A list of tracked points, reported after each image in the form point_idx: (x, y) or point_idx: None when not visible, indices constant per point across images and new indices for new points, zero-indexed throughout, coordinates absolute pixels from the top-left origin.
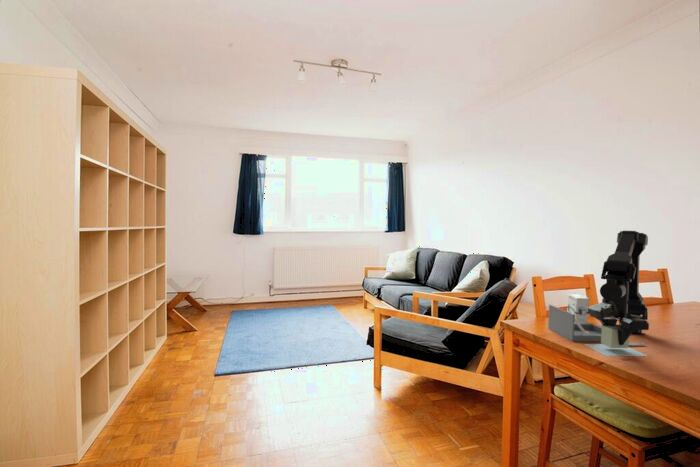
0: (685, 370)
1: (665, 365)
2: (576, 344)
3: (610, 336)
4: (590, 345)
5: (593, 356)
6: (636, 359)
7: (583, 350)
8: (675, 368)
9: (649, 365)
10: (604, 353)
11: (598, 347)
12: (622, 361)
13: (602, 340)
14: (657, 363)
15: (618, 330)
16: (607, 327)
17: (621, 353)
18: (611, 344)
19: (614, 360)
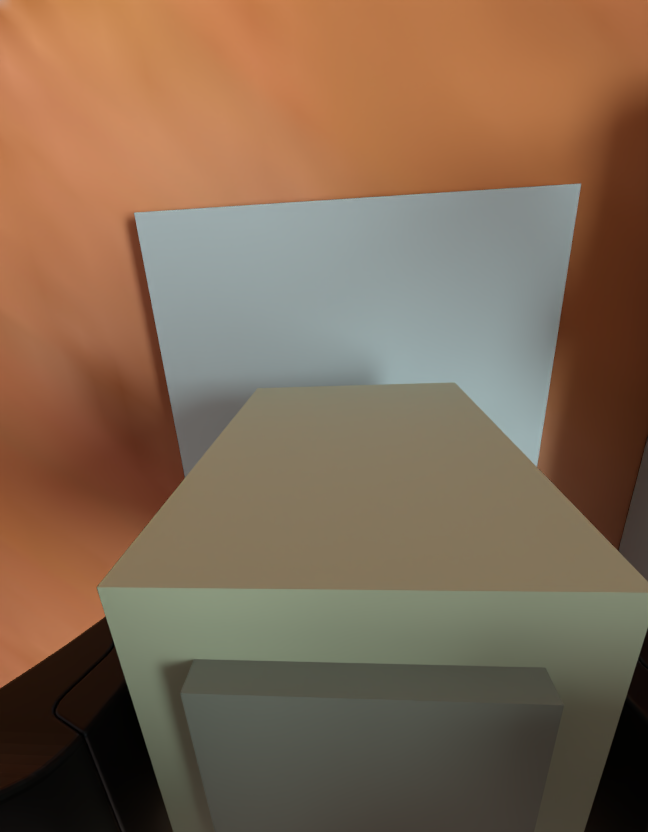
0: (3, 680)
1: (63, 631)
2: (630, 80)
3: (232, 462)
4: (516, 265)
5: (127, 19)
6: (146, 513)
7: (364, 16)
8: (21, 650)
9: (20, 518)
10: (217, 256)
11: (433, 331)
12: (47, 332)
13: (436, 400)
14: (91, 608)
15: (69, 729)
16: (419, 651)
17: None
18: (243, 408)
19: (51, 253)
